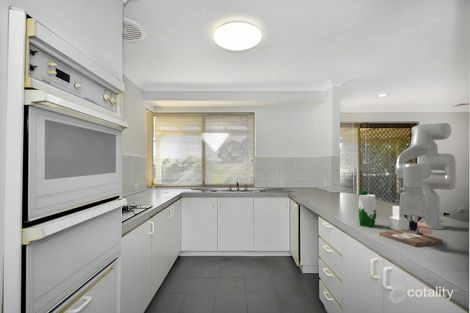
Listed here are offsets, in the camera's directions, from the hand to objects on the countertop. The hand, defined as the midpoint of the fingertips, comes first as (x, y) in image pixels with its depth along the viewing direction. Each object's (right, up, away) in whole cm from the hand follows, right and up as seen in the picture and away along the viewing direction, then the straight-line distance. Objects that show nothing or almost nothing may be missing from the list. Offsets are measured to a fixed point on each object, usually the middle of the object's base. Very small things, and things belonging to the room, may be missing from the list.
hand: (413, 230), depth 113 cm
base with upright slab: (+10, -7, +25) cm, 27 cm away
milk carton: (-4, -7, +31) cm, 32 cm away
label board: (+3, -6, +6) cm, 9 cm away
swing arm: (+6, 0, +2) cm, 6 cm away
